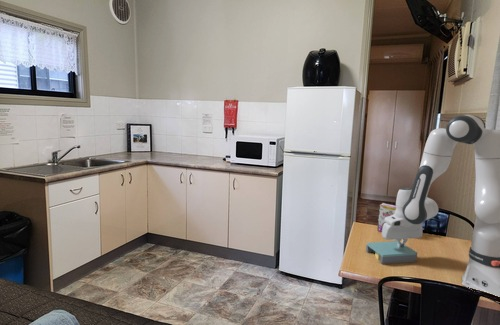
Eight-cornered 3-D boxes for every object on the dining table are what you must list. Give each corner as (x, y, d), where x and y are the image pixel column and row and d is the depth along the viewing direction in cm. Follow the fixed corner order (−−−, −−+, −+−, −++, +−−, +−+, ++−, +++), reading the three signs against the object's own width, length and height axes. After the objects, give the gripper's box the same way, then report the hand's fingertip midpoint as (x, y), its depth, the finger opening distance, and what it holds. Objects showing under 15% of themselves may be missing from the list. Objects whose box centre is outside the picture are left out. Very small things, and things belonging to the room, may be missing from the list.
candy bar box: (376, 231, 191) (379, 204, 188) (380, 228, 195) (382, 202, 192) (396, 236, 184) (399, 208, 181) (399, 233, 187) (402, 206, 185)
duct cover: (417, 254, 152) (417, 252, 152) (382, 257, 149) (382, 255, 149) (398, 242, 166) (398, 240, 165) (366, 244, 162) (366, 242, 162)
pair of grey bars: (416, 261, 153) (417, 254, 152) (381, 264, 149) (382, 257, 149) (397, 249, 166) (398, 242, 166) (365, 251, 163) (366, 244, 162)
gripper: (418, 216, 161) (414, 242, 163) (381, 218, 157) (378, 244, 160) (427, 221, 155) (423, 248, 157) (389, 222, 151) (386, 250, 153)
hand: (400, 246), depth 158 cm, fingers closed, pressing on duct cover
